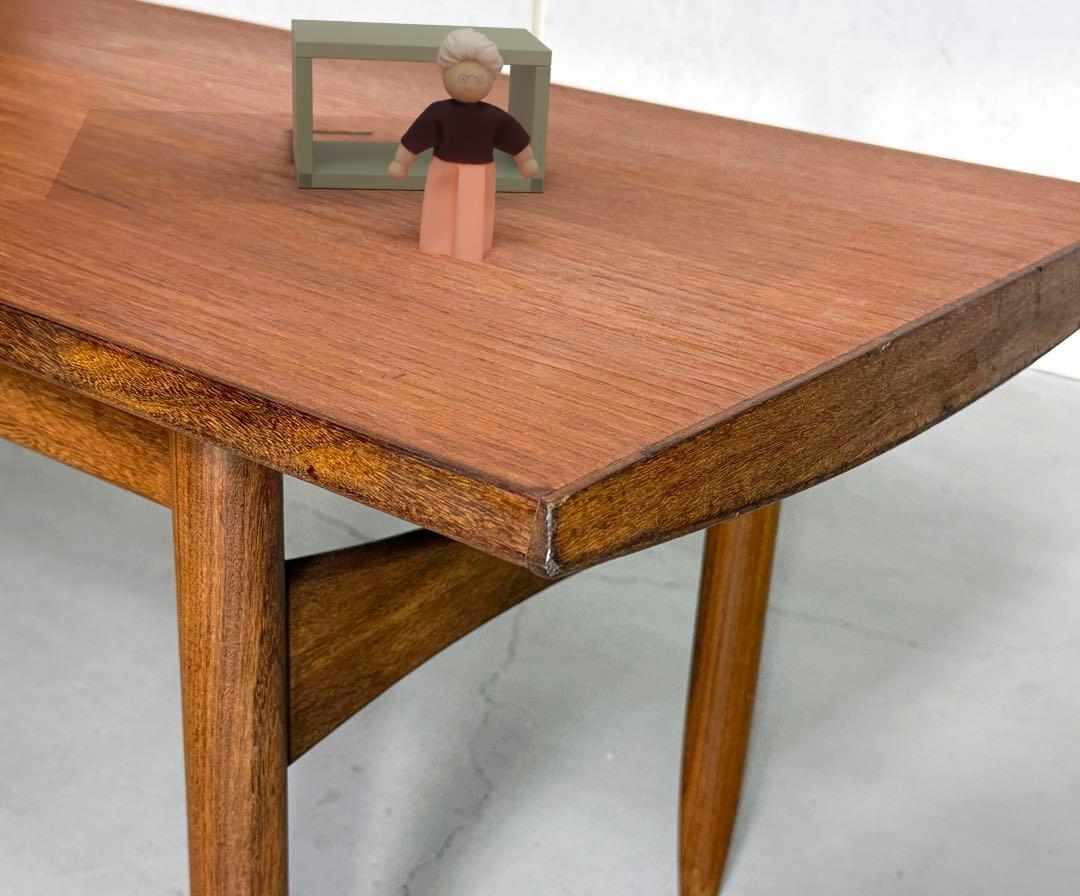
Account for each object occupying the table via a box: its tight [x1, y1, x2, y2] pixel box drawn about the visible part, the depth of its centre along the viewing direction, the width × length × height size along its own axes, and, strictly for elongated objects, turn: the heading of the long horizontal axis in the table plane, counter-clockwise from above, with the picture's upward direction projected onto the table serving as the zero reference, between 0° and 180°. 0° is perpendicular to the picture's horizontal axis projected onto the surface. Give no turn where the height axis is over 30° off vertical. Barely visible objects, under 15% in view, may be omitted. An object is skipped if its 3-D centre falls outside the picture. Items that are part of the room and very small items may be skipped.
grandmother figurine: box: [388, 28, 539, 261], centre depth 76 cm, size 8×4×13 cm, turn 114°
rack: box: [290, 18, 553, 194], centre depth 99 cm, size 16×10×9 cm, turn 100°
